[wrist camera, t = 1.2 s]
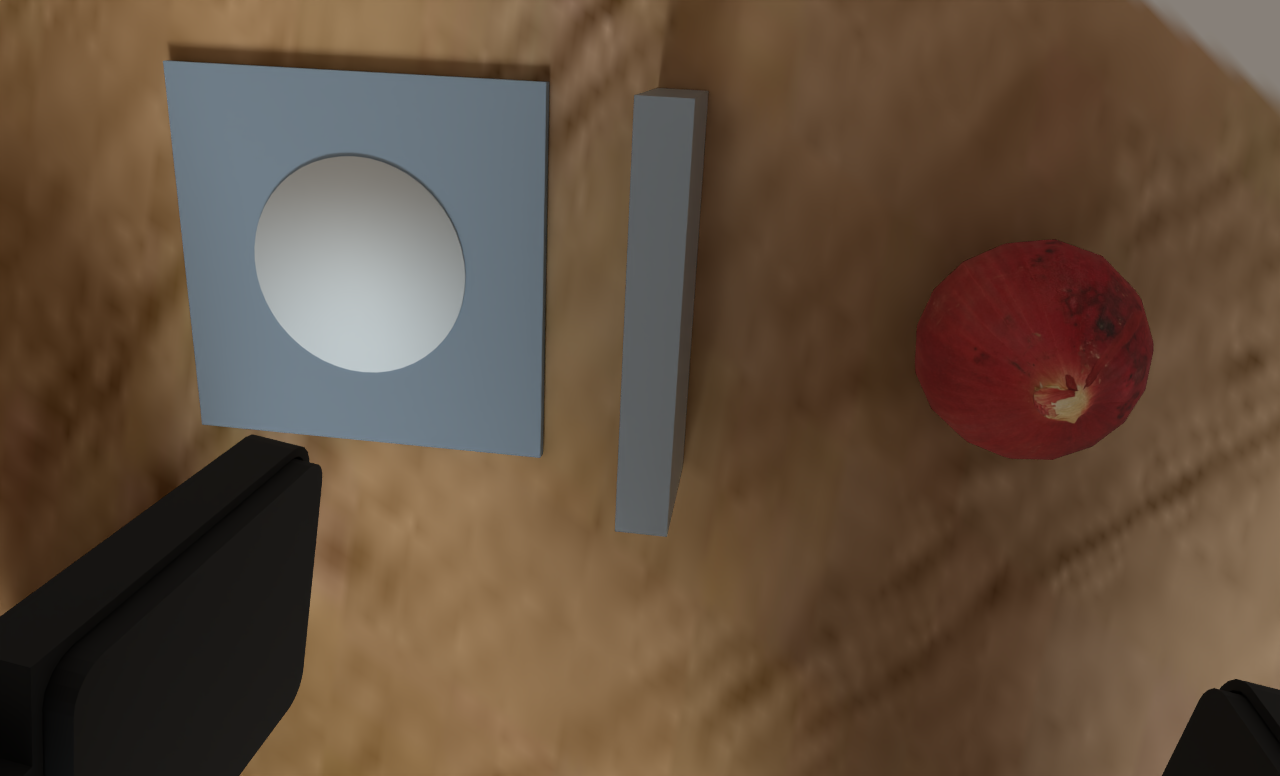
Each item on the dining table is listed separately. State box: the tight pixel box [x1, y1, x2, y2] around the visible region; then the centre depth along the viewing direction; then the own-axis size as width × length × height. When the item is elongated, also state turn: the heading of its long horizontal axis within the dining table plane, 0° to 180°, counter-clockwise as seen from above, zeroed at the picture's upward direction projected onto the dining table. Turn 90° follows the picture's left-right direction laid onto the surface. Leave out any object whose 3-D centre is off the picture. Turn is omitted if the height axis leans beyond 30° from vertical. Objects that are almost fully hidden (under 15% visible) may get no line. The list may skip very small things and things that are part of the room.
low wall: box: [615, 88, 709, 537], centre depth 28 cm, size 12×2×5 cm, turn 177°
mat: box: [163, 61, 549, 458], centre depth 32 cm, size 12×12×1 cm
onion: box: [915, 239, 1153, 460], centre depth 26 cm, size 6×6×8 cm
